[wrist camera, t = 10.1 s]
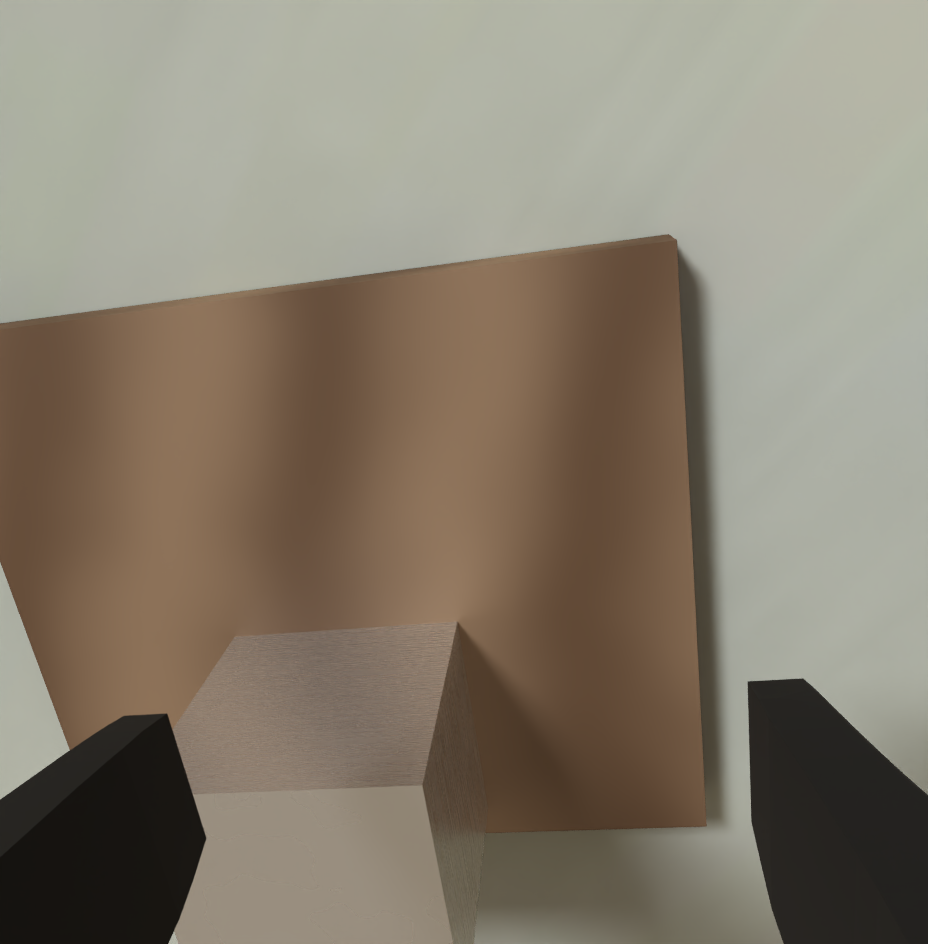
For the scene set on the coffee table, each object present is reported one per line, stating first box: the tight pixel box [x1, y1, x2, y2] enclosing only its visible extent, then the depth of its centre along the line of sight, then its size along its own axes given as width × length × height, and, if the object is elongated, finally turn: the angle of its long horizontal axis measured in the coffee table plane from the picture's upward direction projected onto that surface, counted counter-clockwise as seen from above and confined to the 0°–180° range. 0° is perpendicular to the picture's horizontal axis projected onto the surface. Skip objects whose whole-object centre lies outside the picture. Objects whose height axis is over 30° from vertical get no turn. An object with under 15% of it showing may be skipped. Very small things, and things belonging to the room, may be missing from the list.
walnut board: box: [0, 234, 707, 833], centre depth 18 cm, size 16×14×5 cm
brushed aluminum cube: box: [173, 622, 488, 944], centre depth 18 cm, size 5×5×5 cm
